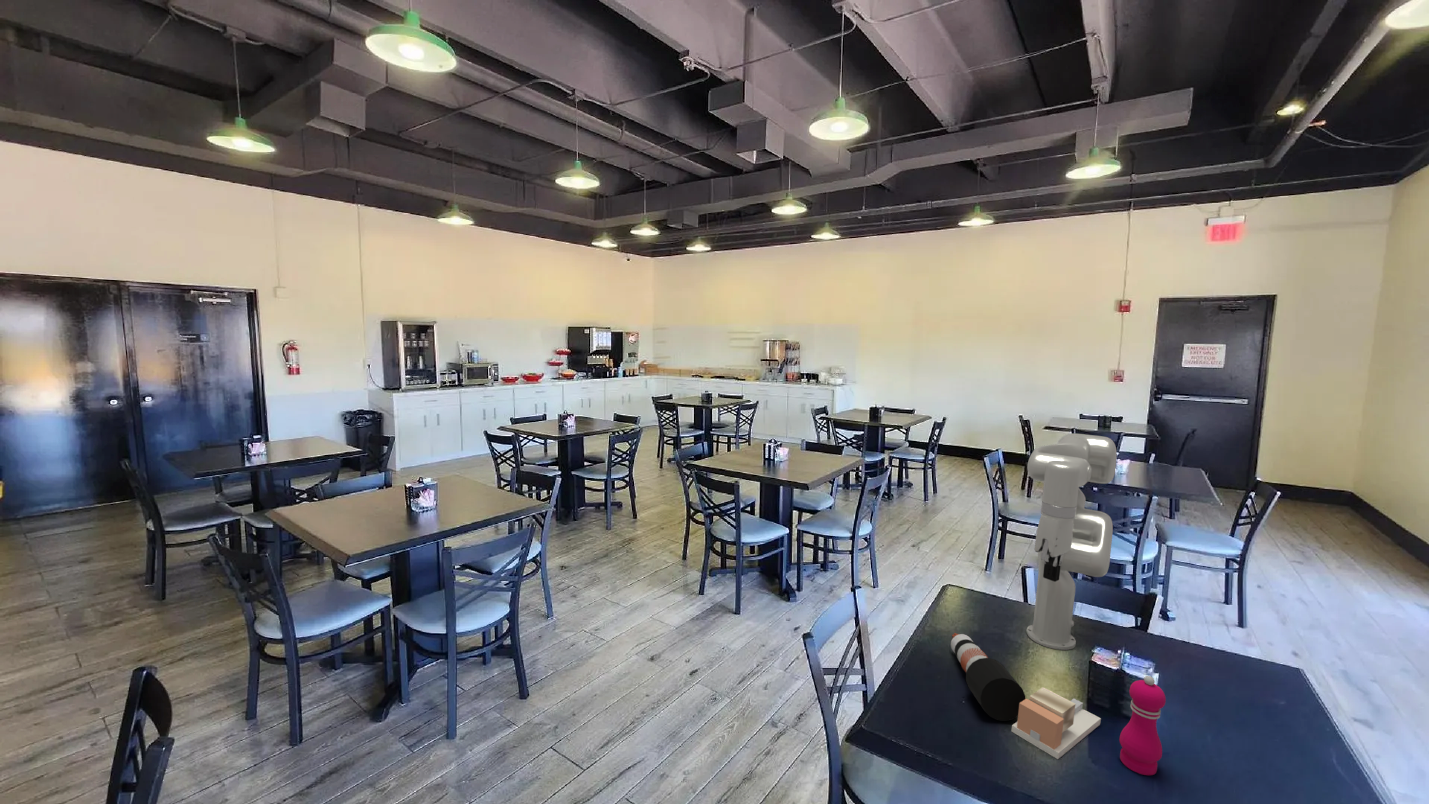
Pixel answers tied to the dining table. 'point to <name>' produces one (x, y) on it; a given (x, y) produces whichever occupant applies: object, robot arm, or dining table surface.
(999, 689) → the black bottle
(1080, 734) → the rail base
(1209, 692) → the dining table surface
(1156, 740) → the pepper mill
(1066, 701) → the block
